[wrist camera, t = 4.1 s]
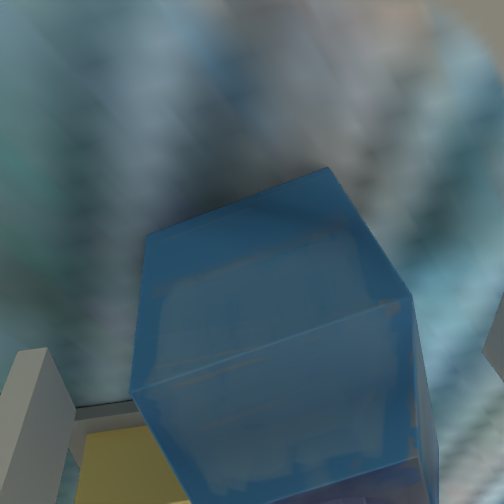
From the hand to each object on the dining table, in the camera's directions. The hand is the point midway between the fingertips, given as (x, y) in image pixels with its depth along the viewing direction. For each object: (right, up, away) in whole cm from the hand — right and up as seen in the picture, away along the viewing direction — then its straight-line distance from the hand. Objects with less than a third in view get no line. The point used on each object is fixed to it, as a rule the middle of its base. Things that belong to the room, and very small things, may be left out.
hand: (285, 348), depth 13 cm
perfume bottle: (-1, +2, +3) cm, 4 cm away
